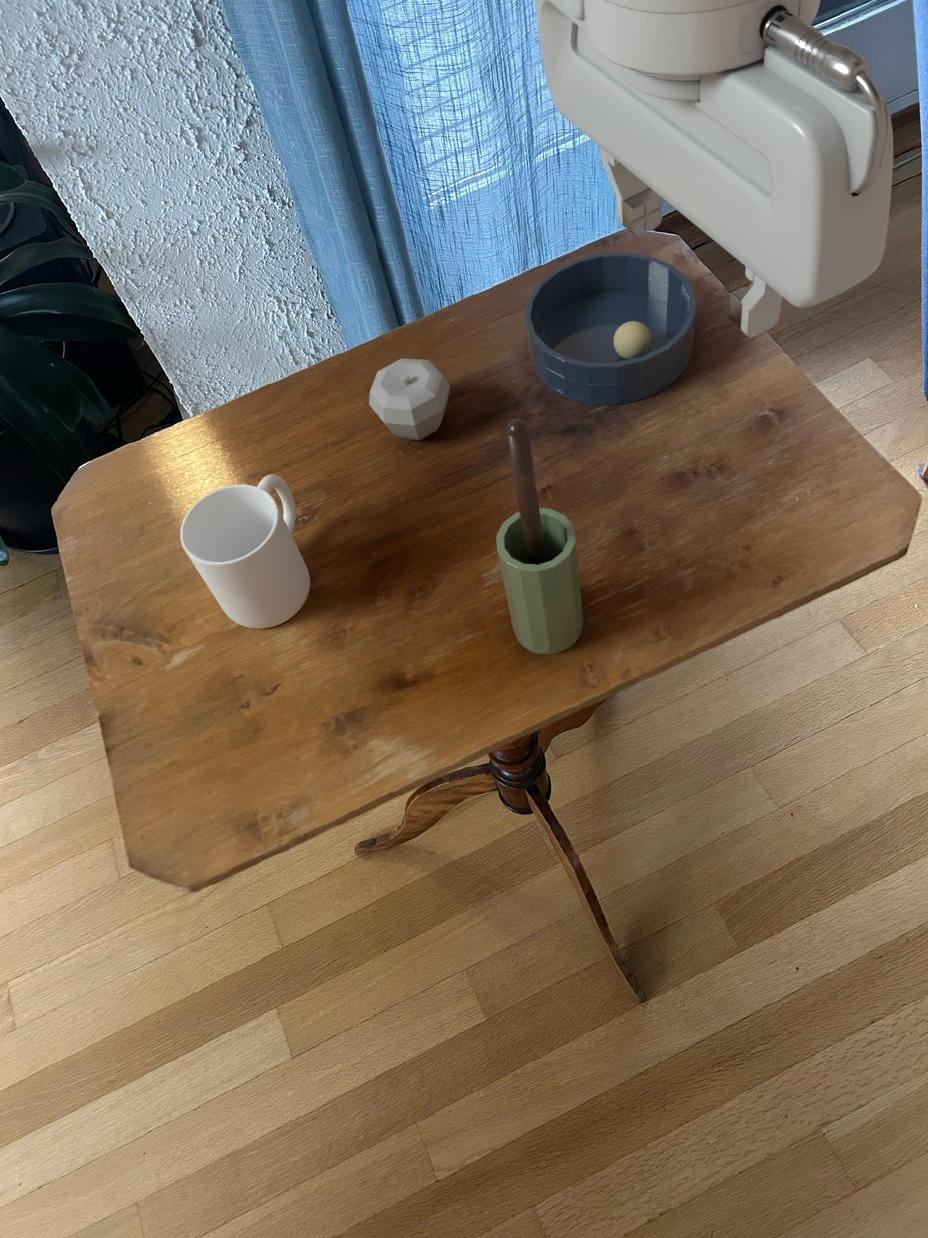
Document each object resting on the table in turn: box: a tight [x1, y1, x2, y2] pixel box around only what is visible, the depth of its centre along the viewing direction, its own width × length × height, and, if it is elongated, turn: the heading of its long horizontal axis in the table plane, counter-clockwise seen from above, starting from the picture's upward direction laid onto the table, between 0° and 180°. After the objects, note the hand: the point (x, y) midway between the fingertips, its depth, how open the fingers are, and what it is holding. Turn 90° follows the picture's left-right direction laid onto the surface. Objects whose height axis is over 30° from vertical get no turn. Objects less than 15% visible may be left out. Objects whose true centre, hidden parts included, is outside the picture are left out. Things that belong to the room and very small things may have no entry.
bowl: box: [524, 251, 697, 406], centre depth 97 cm, size 16×16×5 cm
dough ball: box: [614, 321, 651, 360], centre depth 96 cm, size 4×4×4 cm
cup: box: [179, 473, 311, 630], centre depth 86 cm, size 8×12×10 cm
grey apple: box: [368, 357, 451, 441], centre depth 95 cm, size 8×8×7 cm
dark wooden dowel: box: [506, 418, 546, 565], centre depth 72 cm, size 2×1×24 cm, turn 118°
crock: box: [495, 507, 584, 655], centre depth 78 cm, size 6×6×12 cm
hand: (693, 272), depth 48 cm, fingers open, 8 cm apart
